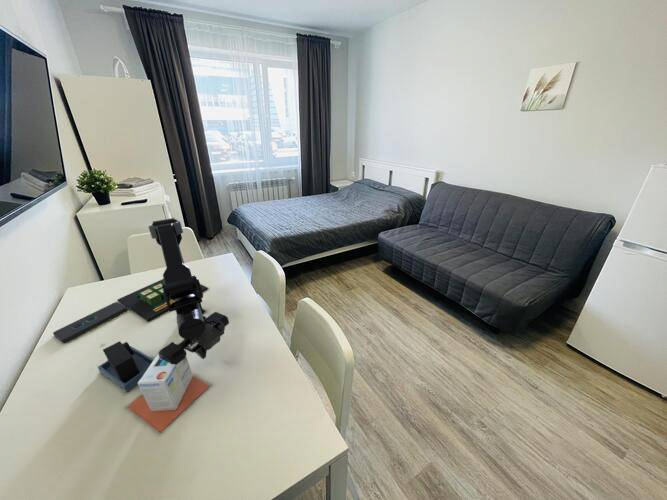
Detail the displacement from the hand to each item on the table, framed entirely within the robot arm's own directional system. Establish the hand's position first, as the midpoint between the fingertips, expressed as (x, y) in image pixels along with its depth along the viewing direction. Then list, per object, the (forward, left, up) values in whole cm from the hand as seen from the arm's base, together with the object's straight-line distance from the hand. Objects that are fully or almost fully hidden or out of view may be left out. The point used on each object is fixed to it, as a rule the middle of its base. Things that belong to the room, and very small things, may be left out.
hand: (203, 357), depth 80 cm
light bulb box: (+10, 0, -3) cm, 11 cm away
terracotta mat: (+12, 0, -3) cm, 12 cm away
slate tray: (+12, -19, -3) cm, 22 cm away
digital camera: (+12, -19, -3) cm, 23 cm away
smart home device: (+6, -55, -3) cm, 55 cm away
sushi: (-17, -48, -3) cm, 51 cm away
